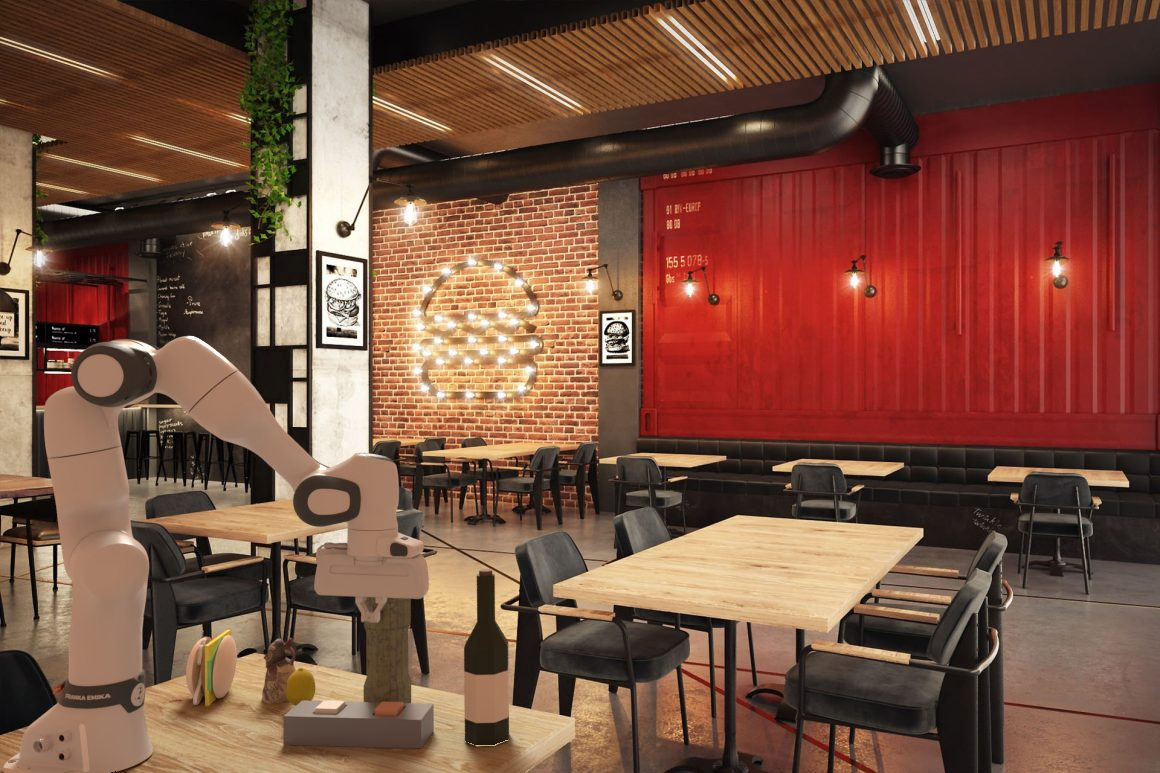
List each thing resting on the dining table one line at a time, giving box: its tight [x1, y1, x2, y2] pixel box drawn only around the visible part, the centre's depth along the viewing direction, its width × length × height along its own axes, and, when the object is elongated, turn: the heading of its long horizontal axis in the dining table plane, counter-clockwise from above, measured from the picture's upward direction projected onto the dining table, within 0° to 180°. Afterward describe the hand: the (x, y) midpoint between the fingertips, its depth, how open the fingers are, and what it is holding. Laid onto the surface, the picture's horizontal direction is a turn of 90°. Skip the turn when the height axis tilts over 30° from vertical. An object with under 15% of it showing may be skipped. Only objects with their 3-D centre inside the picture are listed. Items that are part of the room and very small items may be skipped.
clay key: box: [375, 702, 404, 716], centre depth 155 cm, size 4×4×4 cm
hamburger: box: [185, 629, 238, 707], centre depth 179 cm, size 12×8×12 cm
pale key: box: [315, 700, 346, 714], centre depth 156 cm, size 4×4×4 cm
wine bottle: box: [463, 568, 510, 745], centre depth 155 cm, size 8×8×30 cm
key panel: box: [282, 700, 435, 749], centre depth 155 cm, size 25×8×5 cm, turn 84°
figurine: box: [261, 637, 296, 704], centre depth 177 cm, size 7×7×12 cm
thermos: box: [363, 597, 412, 703], centre depth 165 cm, size 9×12×35 cm
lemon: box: [286, 667, 316, 707], centre depth 170 cm, size 6×6×8 cm
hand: (370, 621), depth 154 cm, fingers closed
